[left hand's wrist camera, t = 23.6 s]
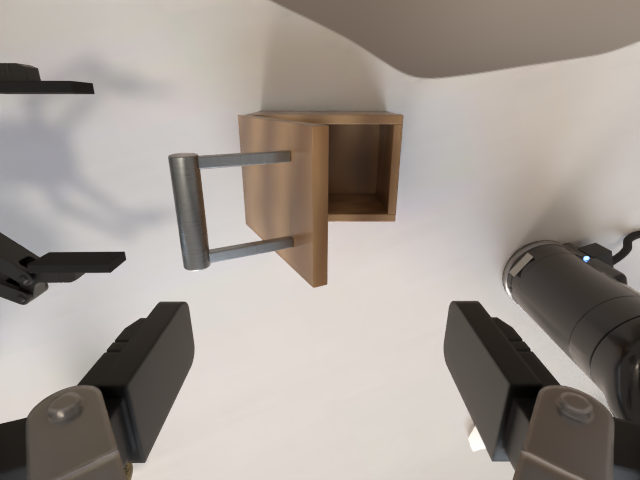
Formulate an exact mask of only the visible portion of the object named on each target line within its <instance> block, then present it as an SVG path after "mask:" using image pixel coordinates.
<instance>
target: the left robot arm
mask: <svg viewBox="0 0 640 480" xmlns="http://www.w3.org/2000/svg"><path fill="white" fill-rule="evenodd" d="M638 238H640V231H637V232H634V233H631V234H629V235H628V236H626V237H625V238H624V240H623V248H622V249H621V251H620V252H618V253H617V254H616V255H614V256H613V257H612V251H610V250H608V249H606V248H604V247H603V246H601V245H599V244H597V243H593V244H590V245H587V246H584V247H581V248H578V247H576V246H575V245H573V244H571V243H566V244H560V243H557V242H554V241H539V242H535V243H531V244H529V245H527V246H525V247H523V248H522V249H520V250H519V251H517V252H516V253H515V254H514V255H513V256H512V257H511V259H510V260H509V261H508V263H507V265H506V267H505V270H504V273H503V285H504V288H505V290H506V292H507V294H508V295H509V296H510V297H511V298H512V299H513V300H514V301H515V302H516V303H517V304H519V305H520V306H521V307H522V308H523V309H524V311H525V312H526V313H527V314H528V315H529V316H530V317H531V318H532V319H533V320H534V321H535V322H536V323H537V324H538V325H539V326H540V327H541V328H542V329H543V330H544V331H545V332H546V334H547V335H548V336H549V337H550V338H551V339H552V340H553V341H554V342H555V343H556V344H557V345H558V346H559V347H560V348H561V349H562V350H563V351H564V352H565V353H566V354H567V355H568V356H569V357H570V358H571V360H572V361H573V362H574V363H575V364H576V365H577V366H578V367H579V368H580V369H581V370H582V371H583V372H584V373H585V374H586V375H587V376H588V377H589V378H590V379H591V380H592V381H593V382H594V383H595V384H596V385H597V387H598V388H599V389H600V390H601V391H602V392H603V393H604V395H605V397H606V400H607V403H608V406H609V408H610V410H611V412H612V414H613V415H614V417H612V415H611V413H610V412H609V411H608V409H607V408H606V407H605V406H604V405H603V404H601V403H600V402H599V401H598V400H596V399H595V398H593V397H592V396H590V395H588V394H586V393H584V392H582V391H580V390H577V389H574V388H571V387H567V386H561V385H560V384H559V383H558V381H557V380H556V379H555V378H554V377H553V375H552V374H551V373H550V372H549V371H548V369H547V368H546V367H545V366H544V365H543V364H542V362H541V361H540V360H539V359H538V358H537V356H536V355H535V354H534V353H533V352H531V351H530V348H529V347H528V346H527V344H526V343H525V342H523V341H522V338H521V337H520V336H519V335H518V334H517V332H516V331H515V330H514V329H513V328H512V327H511V326H509V325H508V324H506V323H505V322H503V321H502V320H500V319H499V318H497V317H490V315H489V314H488V313H487V311H486V310H485V309H484V308H483V306H482V305H481V304H480V303H479V302H478V301H452V302H451V303H450V306H449V311H448V318H447V325H446V332H445V339H444V357H445V362H446V365H447V367H448V369H449V371H450V373H451V375H452V377H453V380H454V382H455V384H456V386H457V388H458V390H459V392H460V394H461V396H462V399H463V401H464V403H465V405H466V407H467V409H468V411H469V413H470V415H471V418H472V420H473V422H474V424H475V426H476V428H477V430H478V432H479V434H480V437H481V439H482V441H483V443H484V445H485V447H486V449H487V451H488V454H489V456H490V458H491V460H492V461H510V462H511V464H512V466H513V468H514V470H515V474H514V477H513V480H640V293H639V292H637V291H635V290H634V289H632V288H631V287H629V286H627V278H626V276H625V275H624V274H623V273H621V272H619V271H618V270H616V269H614V268H613V265H614V264H616V263H618V262H619V261H621V260H622V259H623V258H625V257H626V256H627V255H628V254H629V253H630V251H631V250H632V241H634V240H636V239H638ZM193 358H194V339H193V332H192V325H191V318H190V312H189V307H188V304H187V303H186V302H159V303H158V304H157V305H156V307H155V308H154V309H153V310H152V312H151V313H150V314H149V316H148V317H147V318H140V319H139V320H137V321H136V322H134V323H133V324H131V325H129V326H128V327H126V328H125V329H124V330H123V331H122V333H121V334H120V335H119V336H118V337H117V339H116V340H115V343H112V345H111V346H110V347H109V348H108V349H107V352H106V353H104V354H103V355H102V356H101V358H100V359H99V360H98V361H97V362H96V363H95V365H94V366H93V367H92V368H91V369H90V371H89V372H88V373H87V374H86V375H85V377H84V378H83V379H82V380H81V381H80V382H79V384H78V385H77V386H73V387H69V388H66V389H63V390H60V391H58V392H56V393H54V394H52V395H50V396H48V397H47V398H45V399H44V400H42V401H41V402H40V403H39V404H37V405H36V406H35V407H34V408H33V409H32V411H31V412H30V413H29V415H28V417H27V418H23V419H19V420H15V421H11V422H6V423H2V424H0V480H127V477H126V474H125V470H124V467H125V466H126V464H127V463H145V462H146V460H147V458H148V455H149V453H150V451H151V449H152V447H153V445H154V443H155V441H156V439H157V437H158V435H159V432H160V430H161V428H162V426H163V424H164V422H165V420H166V418H167V416H168V414H169V412H170V409H171V407H172V405H173V403H174V401H175V399H176V397H177V395H178V393H179V391H180V389H181V387H182V384H183V382H184V380H185V378H186V376H187V374H188V372H189V370H190V368H191V365H192V363H193Z"/></svg>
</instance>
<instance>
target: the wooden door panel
mask: <svg viewBox="0 0 640 480" xmlns="http://www.w3.org/2000/svg"><path fill="white" fill-rule="evenodd" d="M238 121H239V134H240V148H241V153H235V154H220V155H204V156H198V154H195V153H178V154H172V155H169V156H168V159H169V166H170V173H171V180H172V187H173V194H174V201H175V208H176V215H177V222H178V229H179V236H180V243H181V250H182V257H183V264H184V268H185V269H186V270H190V271H198V270H203V269H205V268H207V267H209V266H210V264H211V263H213V262H218V261H223V260H229V259H234V258H239V257H245V256H250V255H255V254H260V253H266V252H271V251H275V252H276V253H277V254H278V255H279V256H280V257H281V258H282V259H283V260H285V261H286V262H287V263H288V264H289V265H290V266H291V267H292V268H293V269H294V270H295V271H296V272H297V273H298V274H299V275H300V276H301V277H302V278H304V279H305V280H306V281H307V282H308V283H309V284H310V285H311V286H312V287H313V288H315V287H319V286H323V285H327V254H328V152H329V126H328V125H321V124H314V123H306V122H298V121H291V120H283V119H276V118H268V117H260V116H253V115H238ZM235 166H242V175H243V189H244V203H245V217H246V224H247V225H248V226H249V227H250V228H251V229H252V230H253V231H254V232H255V233H256V234H257V235H258V236H259V237H260V238H261V239H262V241H256V242H251V243H245V244H239V245H233V246H227V247H222V248H216V249H210V250H209V244H208V236H207V227H206V218H205V209H204V200H203V192H202V183H201V174H200V169H210V168H222V167H235Z"/></svg>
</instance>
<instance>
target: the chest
mask: <svg viewBox="0 0 640 480" xmlns="http://www.w3.org/2000/svg"><path fill="white" fill-rule="evenodd" d="M247 115H253V116H260V117H268V118H276V119H283V120H291V121H298V122H306V123H314V124H321V125H328V126H329V152H328V221H359V222H394V221H395V214H396V203H397V190H398V177H399V165H400V152H401V139H402V126H403V125H402V124H403V115H400V114H395V113H391V112H387V111H259V112H255V113H251V114H247Z"/></svg>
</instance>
